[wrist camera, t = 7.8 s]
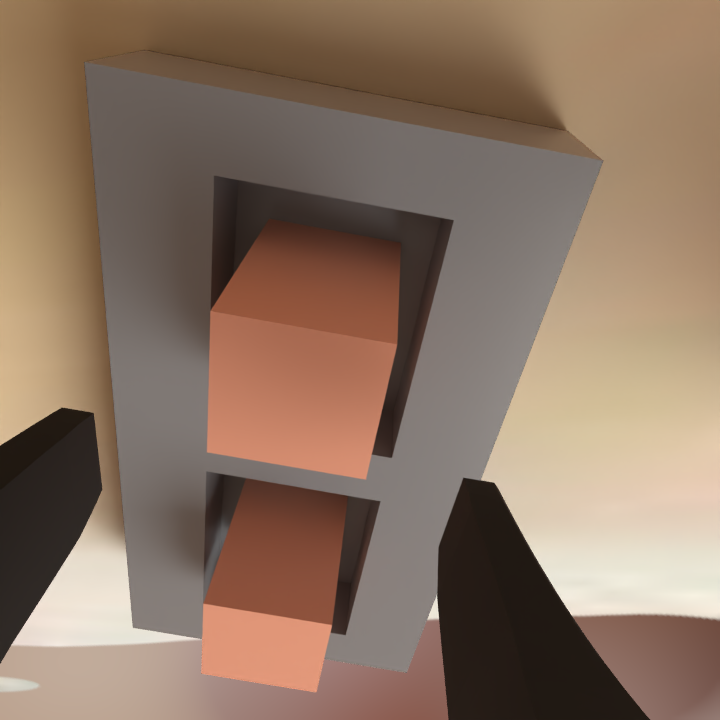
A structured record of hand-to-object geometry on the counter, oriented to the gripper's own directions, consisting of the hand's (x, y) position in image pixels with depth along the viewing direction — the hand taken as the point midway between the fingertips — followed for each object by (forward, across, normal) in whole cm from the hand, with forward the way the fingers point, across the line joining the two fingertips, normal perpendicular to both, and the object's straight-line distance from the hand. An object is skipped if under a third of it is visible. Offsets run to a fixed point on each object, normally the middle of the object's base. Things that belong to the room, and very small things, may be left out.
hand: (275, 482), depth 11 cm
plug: (+8, 0, 0) cm, 8 cm away
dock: (+9, 0, +5) cm, 11 cm away
